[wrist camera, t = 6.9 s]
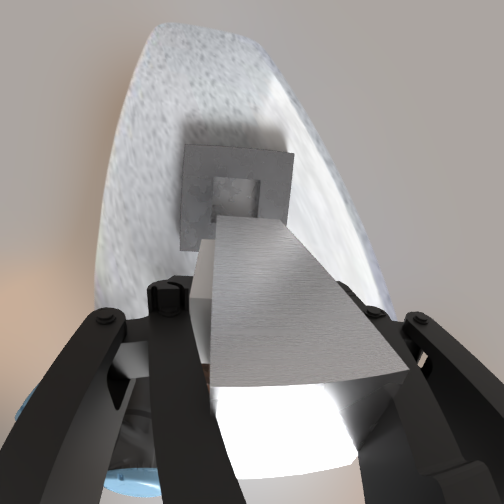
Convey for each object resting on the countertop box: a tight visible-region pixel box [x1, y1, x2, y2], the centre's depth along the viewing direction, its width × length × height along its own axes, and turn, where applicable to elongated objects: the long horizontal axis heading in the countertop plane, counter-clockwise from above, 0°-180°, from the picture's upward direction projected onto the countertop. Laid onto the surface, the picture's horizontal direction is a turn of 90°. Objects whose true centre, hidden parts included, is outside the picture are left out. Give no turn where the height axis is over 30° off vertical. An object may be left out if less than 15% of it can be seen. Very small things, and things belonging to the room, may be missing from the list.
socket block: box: [180, 144, 294, 252], centre depth 37 cm, size 14×14×4 cm
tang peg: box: [210, 215, 410, 479], centre depth 12 cm, size 4×4×14 cm
